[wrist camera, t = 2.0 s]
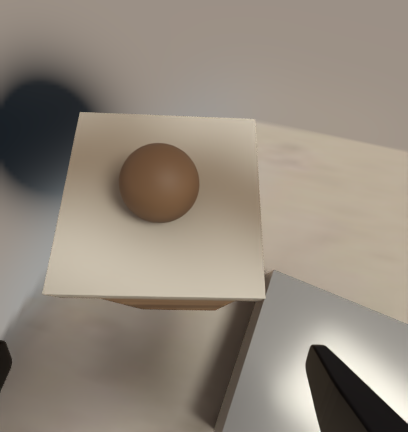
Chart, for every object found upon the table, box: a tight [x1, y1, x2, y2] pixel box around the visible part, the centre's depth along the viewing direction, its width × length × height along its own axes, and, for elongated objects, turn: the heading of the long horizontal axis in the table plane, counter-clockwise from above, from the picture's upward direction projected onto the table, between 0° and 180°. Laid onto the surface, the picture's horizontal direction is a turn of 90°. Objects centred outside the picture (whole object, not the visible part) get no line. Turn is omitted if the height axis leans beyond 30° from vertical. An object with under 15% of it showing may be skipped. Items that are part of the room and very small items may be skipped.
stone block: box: [214, 270, 408, 432], centre depth 17 cm, size 10×10×3 cm
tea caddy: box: [42, 112, 266, 310], centre depth 13 cm, size 5×5×15 cm
